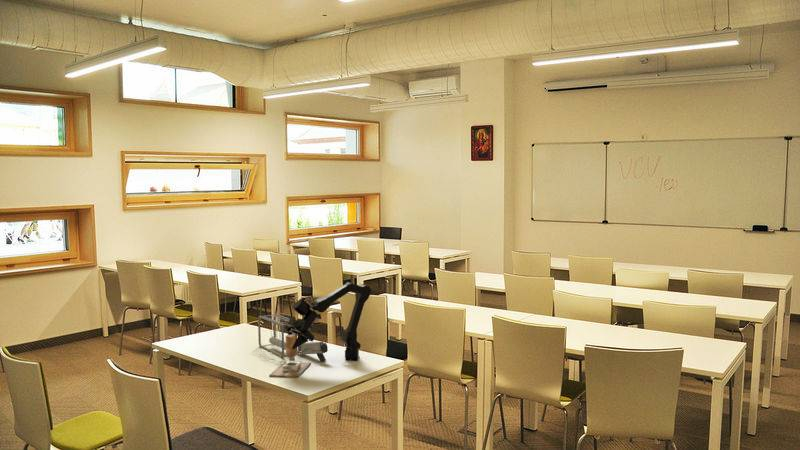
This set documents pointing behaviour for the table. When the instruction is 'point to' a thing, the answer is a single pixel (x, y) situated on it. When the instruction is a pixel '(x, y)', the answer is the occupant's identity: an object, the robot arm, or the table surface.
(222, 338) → the table surface
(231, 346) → the table surface
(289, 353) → the tapered tan cup
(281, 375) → the brown board with rail
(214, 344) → the table surface
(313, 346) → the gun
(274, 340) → the newton's cradle
